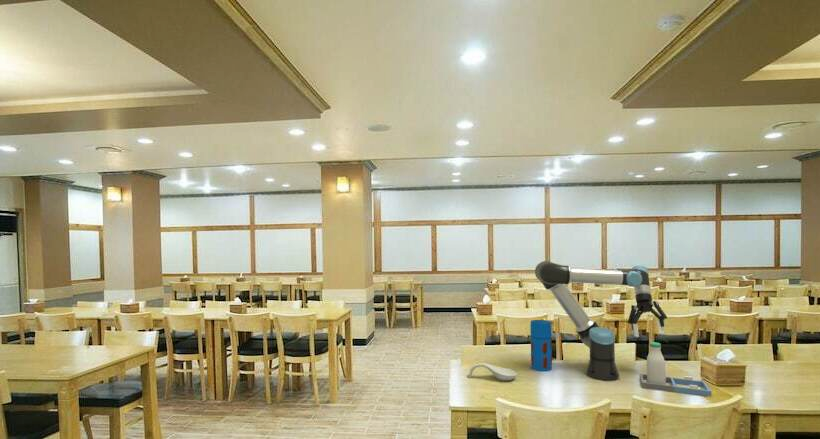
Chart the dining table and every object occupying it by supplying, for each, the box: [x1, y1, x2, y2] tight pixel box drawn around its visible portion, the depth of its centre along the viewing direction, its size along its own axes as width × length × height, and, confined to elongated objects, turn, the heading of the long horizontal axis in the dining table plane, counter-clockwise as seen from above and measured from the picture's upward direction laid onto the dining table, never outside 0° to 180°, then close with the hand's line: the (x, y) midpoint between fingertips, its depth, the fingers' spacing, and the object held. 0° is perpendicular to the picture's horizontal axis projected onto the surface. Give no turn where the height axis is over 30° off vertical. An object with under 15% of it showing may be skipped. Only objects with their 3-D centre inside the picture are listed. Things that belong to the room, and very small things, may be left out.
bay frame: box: [639, 373, 712, 397], centre depth 198 cm, size 27×14×4 cm, turn 65°
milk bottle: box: [646, 341, 667, 385], centre depth 201 cm, size 8×8×20 cm
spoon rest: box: [468, 362, 518, 382], centre depth 212 cm, size 24×12×7 cm, turn 80°
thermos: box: [529, 319, 553, 372], centre depth 227 cm, size 11×11×25 cm
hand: (648, 335), depth 213 cm, fingers open, 13 cm apart
